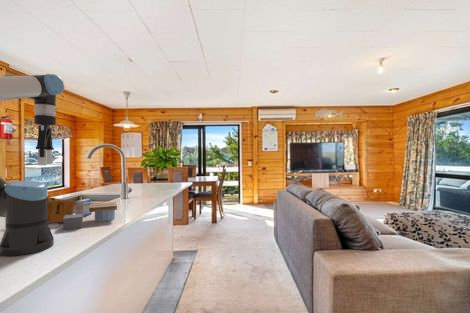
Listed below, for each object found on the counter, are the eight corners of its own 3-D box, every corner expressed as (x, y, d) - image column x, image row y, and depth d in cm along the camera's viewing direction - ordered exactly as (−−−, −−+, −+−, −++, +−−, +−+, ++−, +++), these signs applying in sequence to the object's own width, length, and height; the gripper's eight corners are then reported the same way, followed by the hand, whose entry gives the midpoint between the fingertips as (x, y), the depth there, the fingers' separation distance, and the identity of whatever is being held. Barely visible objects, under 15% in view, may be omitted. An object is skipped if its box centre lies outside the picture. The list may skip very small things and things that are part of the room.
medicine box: (83, 217, 136) (83, 201, 136) (74, 217, 136) (74, 201, 136) (91, 214, 144) (91, 198, 144) (83, 214, 144) (83, 198, 144)
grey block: (81, 227, 117) (81, 216, 117) (63, 230, 113) (63, 218, 113) (82, 224, 123) (82, 213, 123) (65, 226, 120) (65, 215, 120)
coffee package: (41, 197, 133) (82, 198, 132) (37, 221, 131) (79, 223, 130) (25, 196, 124) (69, 197, 123) (20, 222, 121) (65, 224, 120)
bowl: (114, 220, 130) (114, 209, 130) (94, 222, 126) (94, 211, 126) (114, 216, 138) (114, 206, 138) (94, 218, 134) (94, 207, 134)
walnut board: (116, 209, 129) (116, 205, 129) (89, 212, 124) (89, 208, 124) (115, 205, 140) (115, 201, 140) (90, 207, 134) (90, 203, 134)
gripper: (51, 112, 102) (51, 165, 102) (59, 119, 124) (59, 163, 124) (27, 110, 99) (27, 166, 99) (40, 118, 121) (40, 164, 121)
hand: (45, 164), depth 111 cm, fingers open, 13 cm apart
